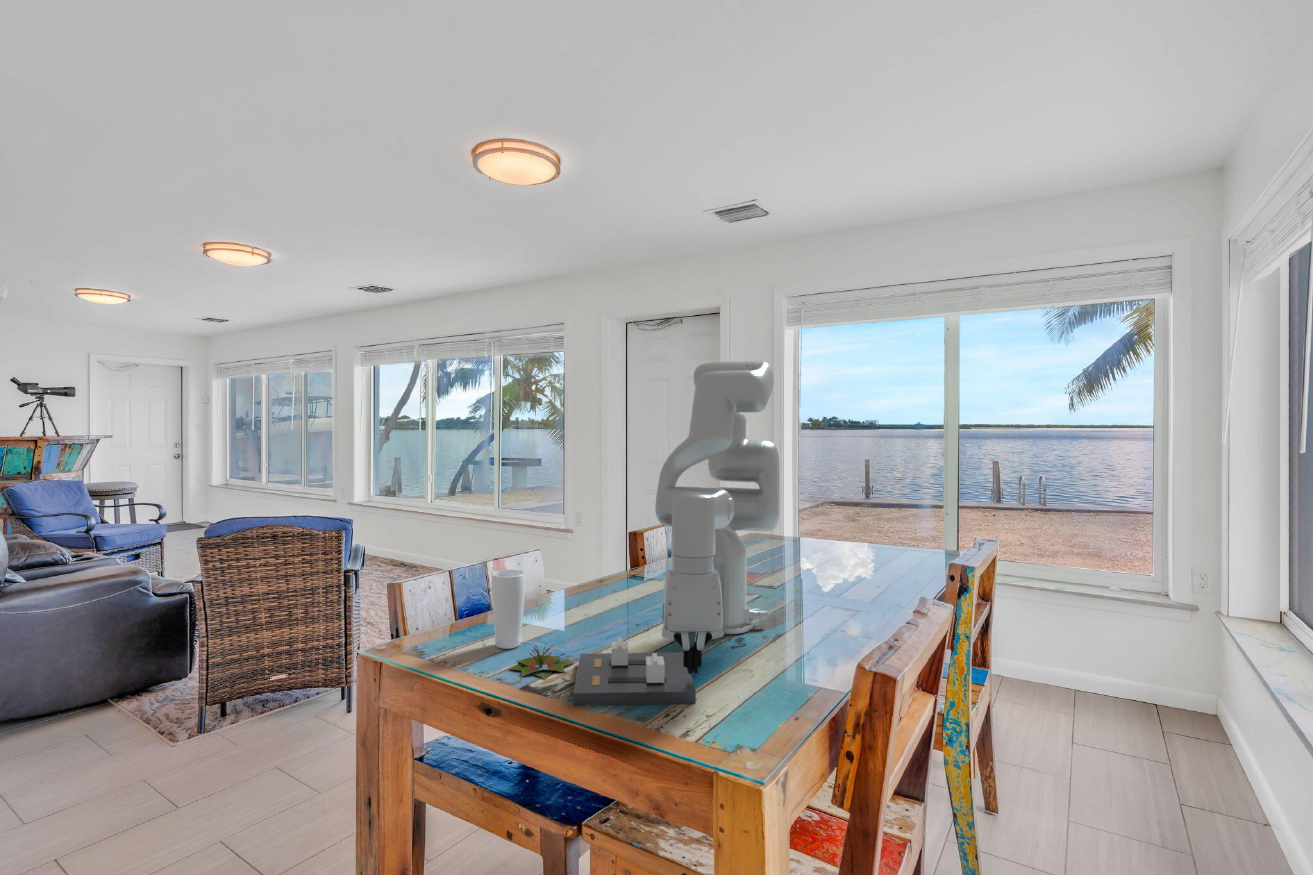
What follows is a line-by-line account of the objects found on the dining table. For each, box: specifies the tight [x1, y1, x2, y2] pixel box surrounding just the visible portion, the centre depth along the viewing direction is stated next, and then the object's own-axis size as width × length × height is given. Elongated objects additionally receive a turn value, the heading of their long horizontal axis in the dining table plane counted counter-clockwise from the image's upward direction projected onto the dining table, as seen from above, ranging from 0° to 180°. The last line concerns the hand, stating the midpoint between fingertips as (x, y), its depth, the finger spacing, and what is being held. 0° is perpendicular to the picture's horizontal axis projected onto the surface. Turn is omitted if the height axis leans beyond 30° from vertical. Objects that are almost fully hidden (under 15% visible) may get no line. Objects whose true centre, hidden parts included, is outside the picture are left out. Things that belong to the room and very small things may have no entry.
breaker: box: [610, 637, 629, 666], centre depth 117 cm, size 3×4×4 cm
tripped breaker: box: [646, 652, 665, 683], centre depth 109 cm, size 3×4×4 cm
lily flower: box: [508, 643, 575, 680], centre depth 120 cm, size 12×12×5 cm
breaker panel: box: [572, 651, 697, 707], centre depth 113 cm, size 20×18×2 cm
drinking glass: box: [491, 569, 526, 650], centre depth 131 cm, size 7×7×15 cm
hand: (692, 670), depth 109 cm, fingers closed
